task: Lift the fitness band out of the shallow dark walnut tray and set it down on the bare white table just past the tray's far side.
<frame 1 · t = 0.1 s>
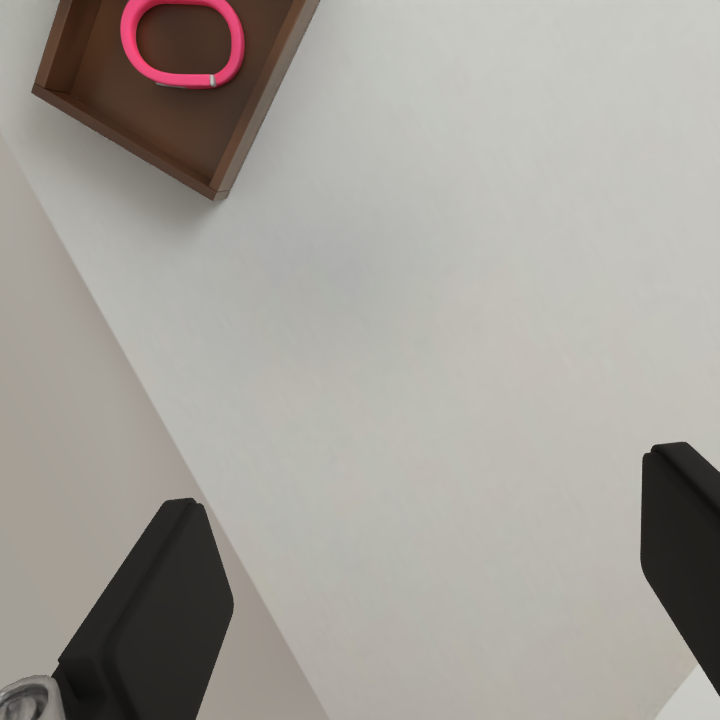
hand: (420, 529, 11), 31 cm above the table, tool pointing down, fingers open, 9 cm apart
walnut tray: (188, 42, 36), on the table
fitness band: (188, 42, 35), resting on walnut tray
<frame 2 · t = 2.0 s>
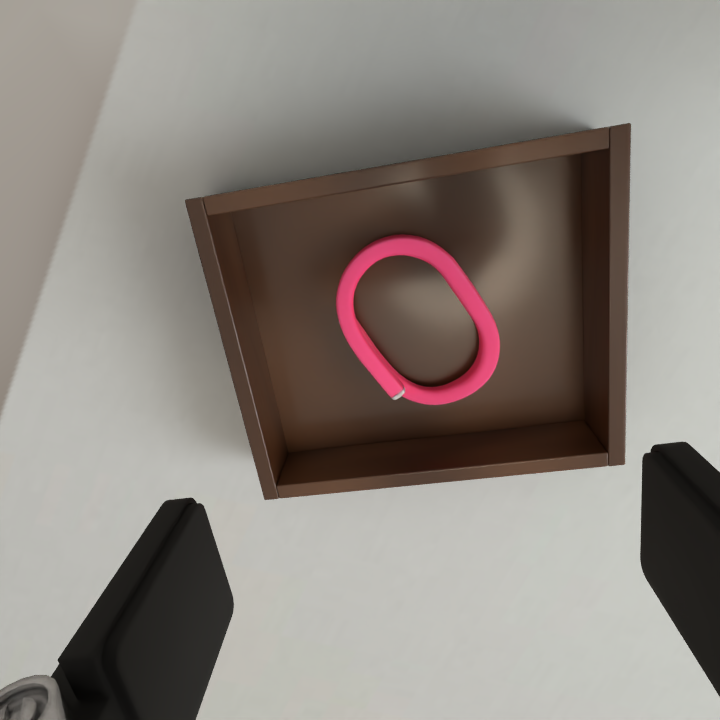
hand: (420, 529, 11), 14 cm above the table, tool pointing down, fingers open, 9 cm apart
walnut tray: (416, 318, 24), on the table
fitness band: (416, 318, 24), resting on walnut tray
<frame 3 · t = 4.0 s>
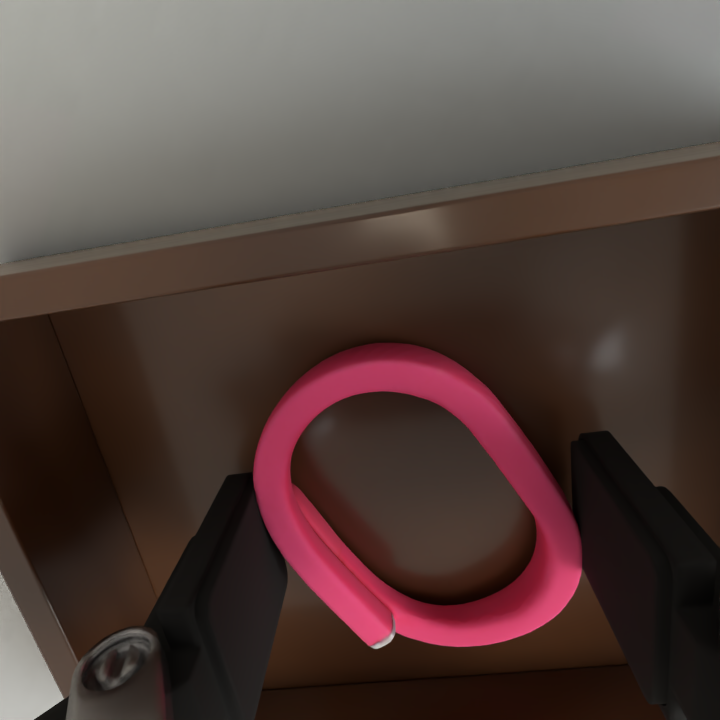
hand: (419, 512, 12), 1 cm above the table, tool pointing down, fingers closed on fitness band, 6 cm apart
walnut tray: (416, 485, 13), on the table
fitness band: (415, 488, 12), resting on walnut tray, touching gripper
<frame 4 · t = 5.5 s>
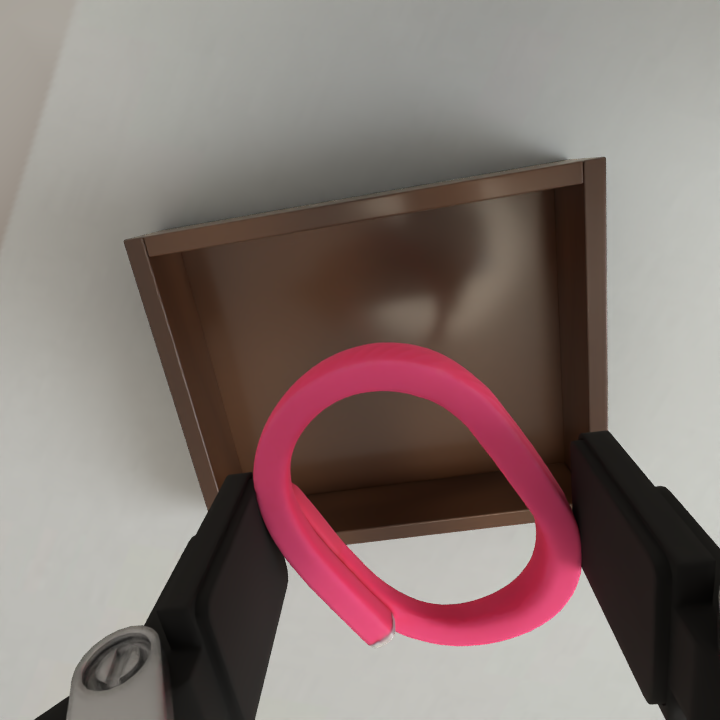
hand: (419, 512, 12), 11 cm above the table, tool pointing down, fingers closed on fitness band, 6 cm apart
walnut tray: (384, 358, 22), on the table
fitness band: (415, 487, 12), point 10 cm above the table, touching gripper
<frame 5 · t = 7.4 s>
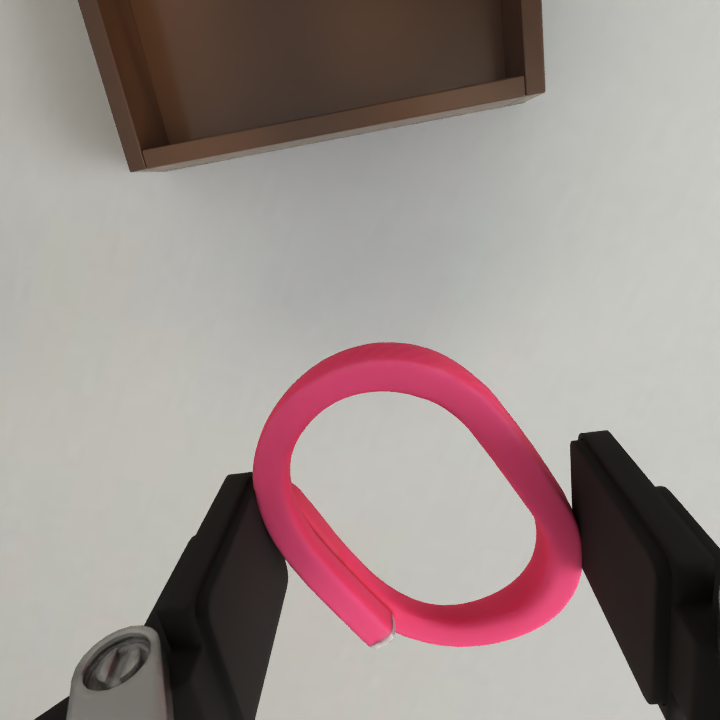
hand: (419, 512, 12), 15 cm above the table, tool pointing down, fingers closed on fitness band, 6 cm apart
fitness band: (415, 488, 12), point 14 cm above the table, touching gripper
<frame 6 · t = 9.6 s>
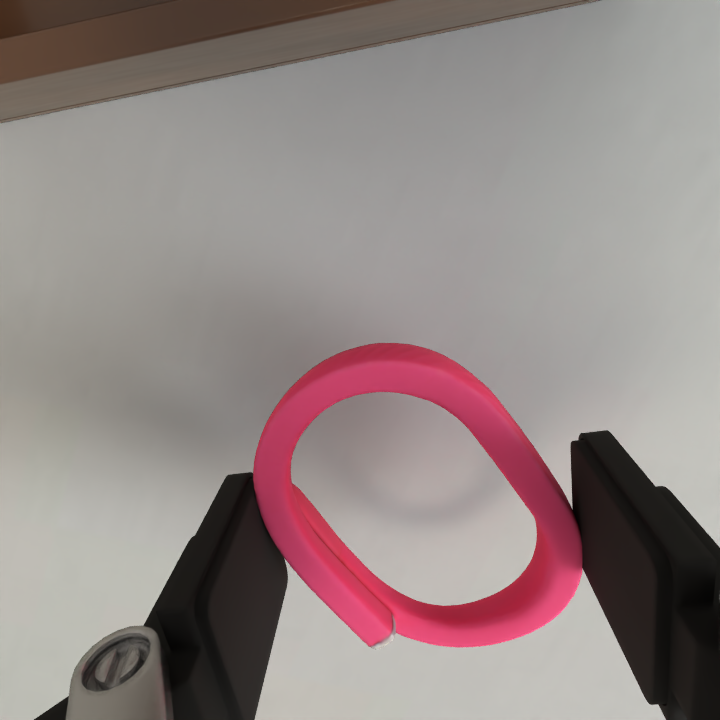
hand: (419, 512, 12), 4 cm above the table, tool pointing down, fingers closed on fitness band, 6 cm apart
fitness band: (416, 488, 12), point 3 cm above the table, touching gripper
when the fingers open (1 cm above the table, at t = 11.0 s): fitness band stays where it is, on the table.
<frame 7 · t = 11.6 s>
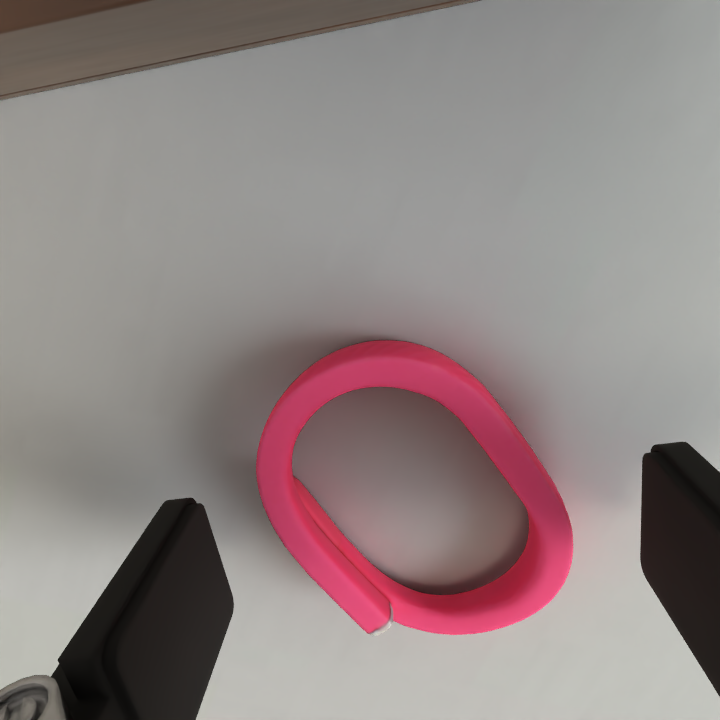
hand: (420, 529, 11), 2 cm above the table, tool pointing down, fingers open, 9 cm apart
fitness band: (412, 481, 13), on the table
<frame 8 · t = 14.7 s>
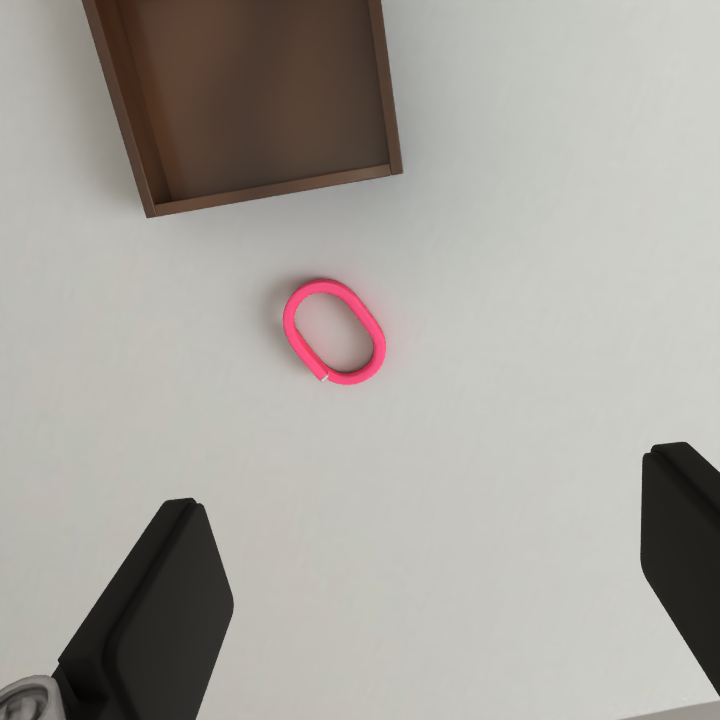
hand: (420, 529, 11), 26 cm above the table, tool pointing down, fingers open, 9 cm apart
walnut tray: (258, 81, 32), on the table
fitness band: (335, 330, 37), on the table
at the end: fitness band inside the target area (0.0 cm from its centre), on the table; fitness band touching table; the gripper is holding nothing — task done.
